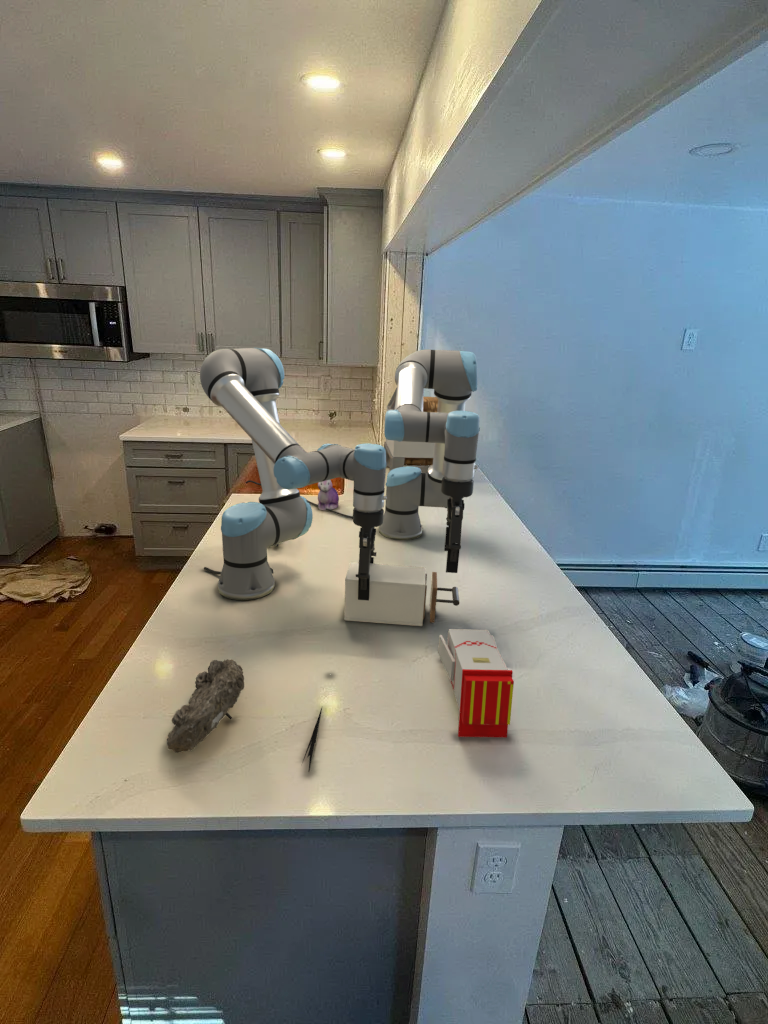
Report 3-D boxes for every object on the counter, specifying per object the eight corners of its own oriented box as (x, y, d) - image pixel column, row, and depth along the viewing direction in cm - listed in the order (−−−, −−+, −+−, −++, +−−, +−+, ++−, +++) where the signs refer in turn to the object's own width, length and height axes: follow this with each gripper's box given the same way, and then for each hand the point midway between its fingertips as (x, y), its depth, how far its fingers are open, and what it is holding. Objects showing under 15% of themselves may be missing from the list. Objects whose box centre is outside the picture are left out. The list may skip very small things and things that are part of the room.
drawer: (455, 606, 151) (459, 573, 147) (457, 624, 142) (461, 589, 139) (364, 600, 152) (365, 567, 148) (361, 617, 143) (362, 582, 140)
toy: (488, 613, 130) (523, 677, 101) (484, 667, 133) (517, 744, 104) (435, 612, 130) (455, 676, 101) (432, 666, 133) (451, 743, 103)
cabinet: (422, 606, 152) (425, 567, 148) (422, 626, 142) (425, 584, 138) (349, 600, 153) (350, 561, 149) (344, 620, 143) (345, 578, 139)
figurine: (321, 512, 217) (321, 474, 212) (311, 504, 225) (311, 467, 220) (344, 509, 221) (344, 472, 216) (333, 501, 229) (334, 465, 224)
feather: (331, 679, 122) (336, 673, 122) (307, 777, 96) (313, 769, 95) (324, 675, 122) (329, 669, 121) (298, 772, 95) (304, 764, 95)
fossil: (192, 660, 117) (244, 628, 112) (224, 691, 120) (276, 661, 115) (142, 746, 98) (202, 712, 93) (182, 779, 101) (242, 748, 96)
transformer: (382, 463, 289) (386, 382, 275) (445, 464, 293) (451, 384, 279) (390, 482, 257) (394, 392, 243) (460, 483, 261) (468, 394, 247)
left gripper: (380, 525, 127) (376, 612, 135) (386, 494, 149) (383, 571, 156) (347, 523, 128) (345, 610, 135) (358, 492, 149) (356, 569, 156)
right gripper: (478, 494, 122) (469, 584, 130) (470, 465, 145) (462, 543, 152) (443, 492, 123) (436, 581, 130) (440, 463, 146) (434, 541, 153)
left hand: (365, 589), depth 146 cm, fingers closed on cabinet, 10 cm apart
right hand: (450, 561), depth 141 cm, fingers open, 12 cm apart
